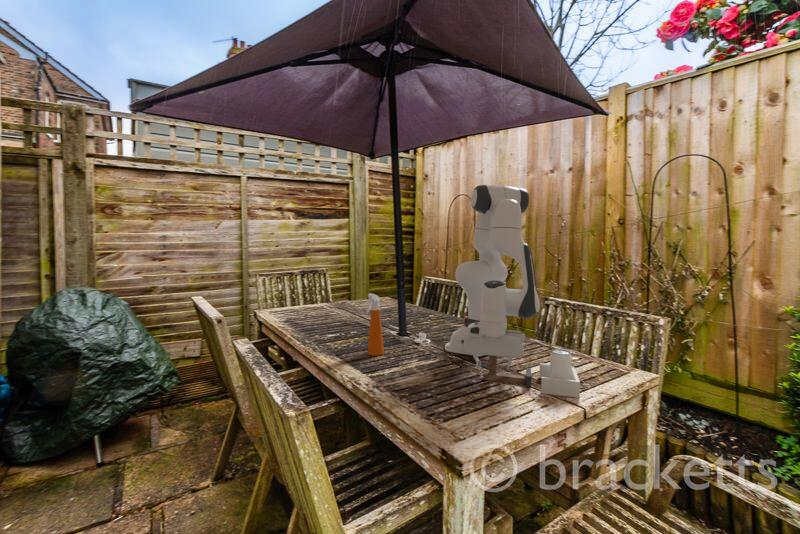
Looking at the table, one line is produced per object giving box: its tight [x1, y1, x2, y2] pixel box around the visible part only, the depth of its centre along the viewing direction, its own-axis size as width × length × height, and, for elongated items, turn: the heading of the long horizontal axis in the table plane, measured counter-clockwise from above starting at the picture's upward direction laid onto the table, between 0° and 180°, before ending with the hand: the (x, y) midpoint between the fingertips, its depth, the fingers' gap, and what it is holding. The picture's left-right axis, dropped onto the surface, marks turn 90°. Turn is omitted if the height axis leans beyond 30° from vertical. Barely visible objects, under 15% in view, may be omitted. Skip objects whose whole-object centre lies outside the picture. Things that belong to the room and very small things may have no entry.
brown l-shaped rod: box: [483, 355, 532, 389], centre depth 127 cm, size 16×8×9 cm, turn 72°
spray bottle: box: [365, 293, 385, 357], centre depth 154 cm, size 7×11×26 cm, turn 155°
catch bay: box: [538, 362, 581, 399], centre depth 122 cm, size 11×14×5 cm
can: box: [549, 348, 573, 380], centre depth 121 cm, size 6×6×12 cm
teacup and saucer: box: [413, 332, 432, 345], centre depth 175 cm, size 9×8×4 cm
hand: (492, 367), depth 128 cm, fingers open, 8 cm apart
